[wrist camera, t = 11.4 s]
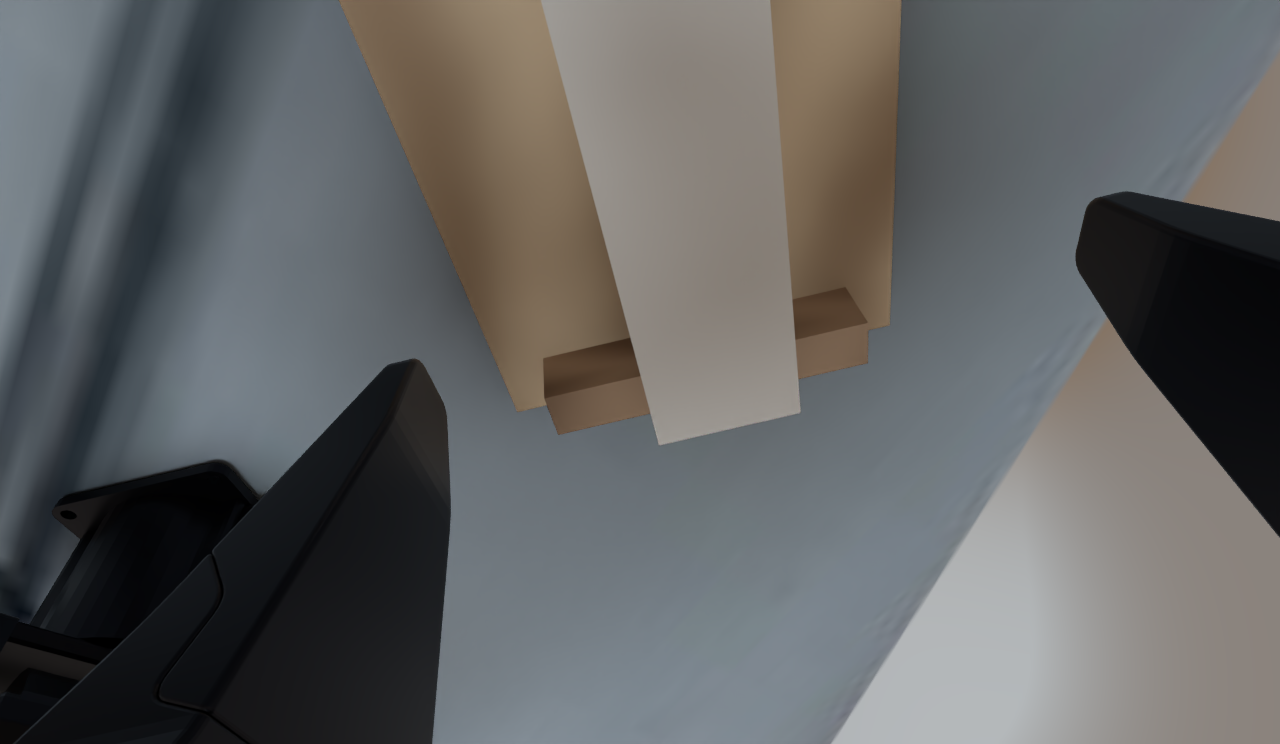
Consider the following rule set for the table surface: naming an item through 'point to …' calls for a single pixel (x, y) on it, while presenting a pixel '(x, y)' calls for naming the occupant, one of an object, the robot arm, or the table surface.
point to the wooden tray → (563, 202)
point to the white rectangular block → (688, 199)
